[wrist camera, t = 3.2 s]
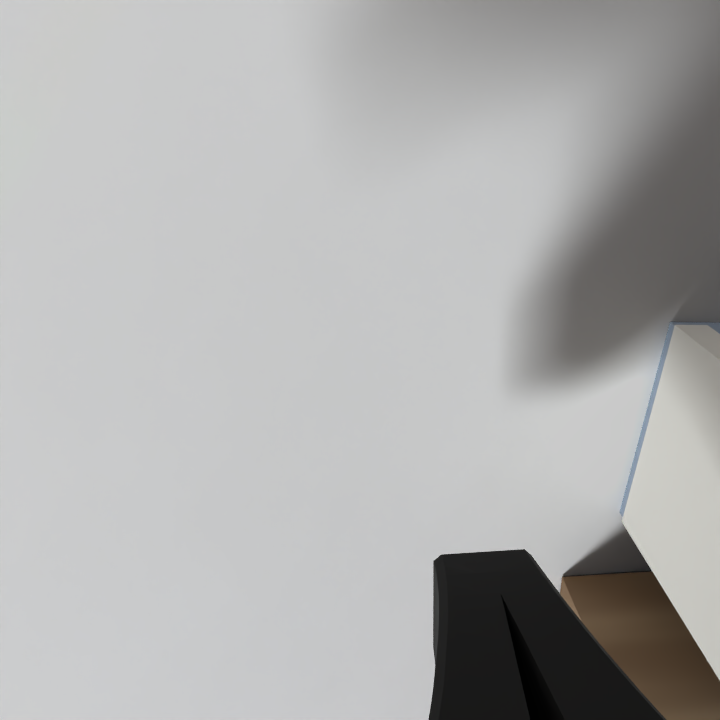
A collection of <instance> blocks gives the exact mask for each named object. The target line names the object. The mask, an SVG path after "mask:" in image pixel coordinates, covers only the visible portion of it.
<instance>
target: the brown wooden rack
mask: <svg viewBox="0 0 720 720" xmlns="http://www.w3.org/2000/svg"><path fill="white" fill-rule="evenodd" d="M560 595H561V596H562V597H563V599H564V600H565V601H566V602H567V604H568V605H569V606H570V608H571V609H572V610H573V611H574V613H575V614H576V615H577V616H578V618H579V619H580V620H581V621H582V623H583V624H584V625H585V626H586V628H587V629H588V630H589V631H590V632H591V634H592V635H593V636H594V637H595V639H596V640H597V641H598V642H599V643H600V645H601V646H602V647H603V648H604V649H605V651H606V652H607V653H608V654H609V655H610V656H611V657H612V659H613V660H614V661H615V662H616V663H617V664H618V666H619V667H620V668H621V669H622V670H623V671H624V673H625V674H626V675H627V676H628V677H629V678H630V679H631V681H632V682H633V683H634V684H635V685H636V686H637V688H638V689H639V690H640V691H641V692H642V693H643V694H644V695H645V697H646V698H647V699H648V700H649V701H650V702H651V703H652V704H653V705H654V707H655V708H656V709H657V710H658V711H659V712H660V713H661V714H662V715H663V716H664V718H665V719H666V720H720V680H719V679H718V677H717V675H716V674H715V672H714V671H713V669H712V667H711V666H710V664H709V663H708V661H707V659H706V658H705V656H704V654H703V653H702V651H701V650H700V648H699V646H698V645H697V643H696V641H695V640H694V638H693V637H692V635H691V633H690V632H689V630H688V628H687V627H686V625H685V624H684V622H683V620H682V619H681V617H680V615H679V614H678V612H677V611H676V609H675V607H674V606H673V604H672V602H671V601H670V599H669V598H668V596H667V594H666V593H665V591H664V590H663V588H662V586H661V585H660V583H659V581H658V580H657V578H656V577H655V575H654V573H653V572H652V571H651V572H634V573H618V574H602V575H586V576H569V577H562V583H561V590H560Z"/></svg>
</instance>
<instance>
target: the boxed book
mask: <svg viewBox="0 0 720 720" xmlns="http://www.w3.org/2000/svg"><path fill="white" fill-rule="evenodd" d="M620 513H621V515H622V517H623V518H622V523H623V525H624V526H625V528H626V529H627V531H628V533H629V534H630V536H631V538H632V539H633V541H634V542H635V544H636V546H637V547H638V549H639V551H640V552H641V554H642V555H643V557H644V559H645V560H646V562H647V564H648V565H649V567H650V568H651V570H652V572H653V573H654V575H655V577H656V578H657V580H658V581H659V583H660V585H661V586H662V588H663V590H664V591H665V593H666V594H667V596H668V598H669V599H670V601H671V602H672V604H673V606H674V607H675V609H676V611H677V612H678V614H679V615H680V617H681V619H682V620H683V622H684V624H685V625H686V627H687V628H688V630H689V632H690V633H691V635H692V637H693V638H694V640H695V641H696V643H697V645H698V646H699V648H700V650H701V651H702V653H703V654H704V656H705V658H706V659H707V661H708V663H709V664H710V666H711V667H712V669H713V671H714V672H715V674H716V675H717V677H718V679H719V680H720V323H713V322H670V325H669V328H668V332H667V336H666V340H665V343H664V347H663V351H662V355H661V358H660V362H659V366H658V370H657V373H656V377H655V381H654V385H653V389H652V392H651V396H650V400H649V404H648V407H647V411H646V415H645V419H644V422H643V426H642V430H641V434H640V437H639V441H638V445H637V449H636V452H635V456H634V460H633V464H632V468H631V471H630V475H629V479H628V483H627V486H626V490H625V494H624V498H623V501H622V505H621V509H620Z"/></svg>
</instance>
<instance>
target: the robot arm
mask: <svg viewBox="0 0 720 720" xmlns="http://www.w3.org/2000/svg"><path fill="white" fill-rule="evenodd" d="M433 648H434V656H435V677H434V687H433V695H432V702H431V709H430V715H429V720H666V719H665V718H664V716H663V715H662V714H661V713H660V712H659V711H658V710H657V709H656V708H655V707H654V705H653V704H652V703H651V702H650V701H649V700H648V699H647V698H646V697H645V695H644V694H643V693H642V692H641V691H640V690H639V689H638V688H637V686H636V685H635V684H634V683H633V682H632V681H631V679H630V678H629V677H628V676H627V675H626V674H625V673H624V671H623V670H622V669H621V668H620V667H619V666H618V664H617V663H616V662H615V661H614V660H613V659H612V657H611V656H610V655H609V654H608V653H607V652H606V651H605V649H604V648H603V647H602V646H601V645H600V643H599V642H598V641H597V640H596V639H595V637H594V636H593V635H592V634H591V632H590V631H589V630H588V629H587V628H586V626H585V625H584V624H583V623H582V621H581V620H580V619H579V618H578V616H577V615H576V614H575V613H574V611H573V610H572V609H571V608H570V606H569V605H568V604H567V602H566V601H565V600H564V599H563V597H562V596H561V595H560V593H559V592H558V591H557V589H556V588H555V587H554V586H553V584H552V583H551V582H550V580H549V579H548V578H547V576H546V575H545V573H544V572H543V571H542V569H541V568H540V567H539V565H538V564H537V563H536V561H535V560H534V558H533V557H532V556H531V555H530V554H529V553H528V552H527V551H526V550H525V549H523V550H507V551H491V552H476V553H460V554H444V555H440V556H439V557H438V558H437V559H436V560H434V604H433Z"/></svg>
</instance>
